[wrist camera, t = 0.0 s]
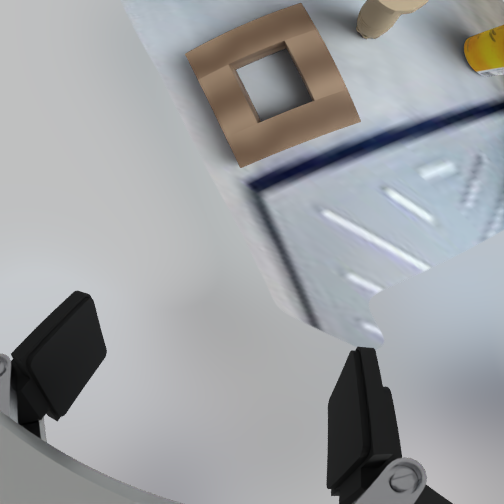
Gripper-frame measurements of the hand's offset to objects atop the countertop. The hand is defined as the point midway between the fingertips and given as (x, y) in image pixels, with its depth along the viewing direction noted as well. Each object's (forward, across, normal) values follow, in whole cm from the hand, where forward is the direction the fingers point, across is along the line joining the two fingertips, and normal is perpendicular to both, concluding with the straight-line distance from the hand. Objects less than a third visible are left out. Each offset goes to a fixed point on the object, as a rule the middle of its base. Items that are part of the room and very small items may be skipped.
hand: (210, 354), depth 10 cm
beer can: (+31, -26, -24) cm, 47 cm away
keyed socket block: (+31, +2, -12) cm, 33 cm away
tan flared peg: (+31, -9, -22) cm, 39 cm away
